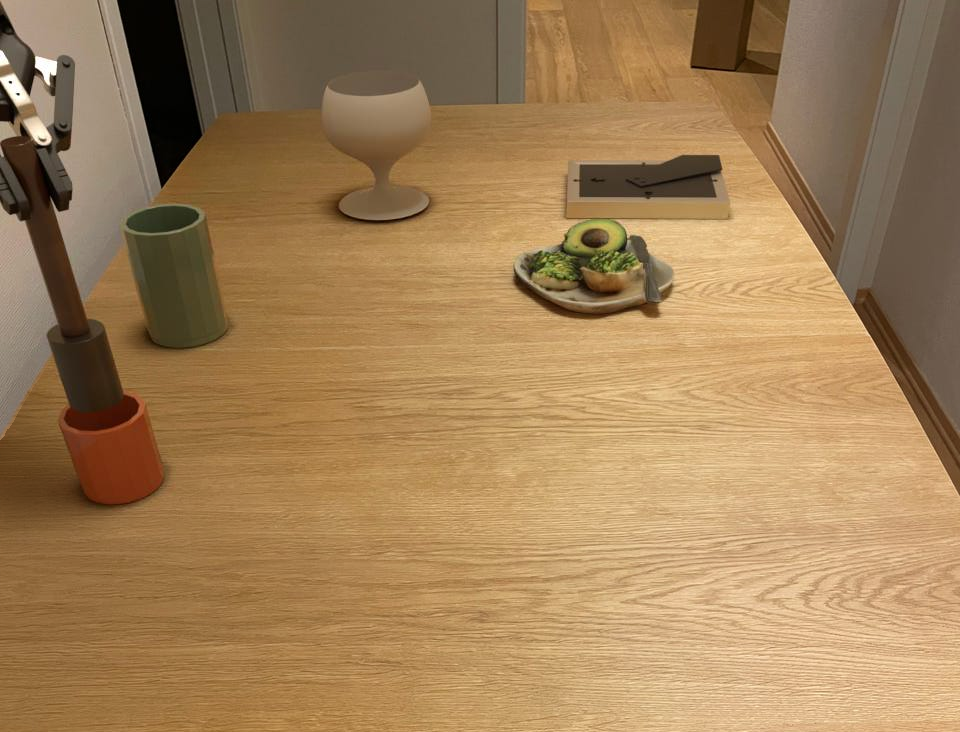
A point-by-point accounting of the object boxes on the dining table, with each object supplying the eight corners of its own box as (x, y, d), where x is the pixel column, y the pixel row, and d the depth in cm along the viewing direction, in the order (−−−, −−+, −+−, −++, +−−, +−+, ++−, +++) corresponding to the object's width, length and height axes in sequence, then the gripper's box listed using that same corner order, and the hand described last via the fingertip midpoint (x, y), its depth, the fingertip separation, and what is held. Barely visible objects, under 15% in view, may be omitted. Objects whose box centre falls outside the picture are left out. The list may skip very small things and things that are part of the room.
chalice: (367, 234, 129) (354, 106, 118) (313, 203, 137) (297, 81, 127) (456, 208, 134) (451, 84, 124) (399, 180, 143) (390, 61, 133)
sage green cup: (145, 351, 107) (114, 237, 99) (154, 315, 113) (126, 206, 105) (225, 344, 107) (201, 231, 99) (230, 310, 114) (207, 201, 105)
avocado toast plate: (717, 301, 112) (723, 260, 109) (578, 337, 107) (580, 295, 103) (624, 241, 125) (627, 203, 122) (496, 271, 119) (495, 231, 116)
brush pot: (76, 508, 86) (50, 437, 81) (90, 462, 91) (66, 393, 86) (159, 501, 87) (138, 430, 82) (168, 455, 92) (149, 386, 87)
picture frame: (716, 176, 141) (567, 176, 142) (719, 154, 139) (568, 154, 140) (727, 218, 129) (566, 218, 131) (731, 196, 128) (567, 195, 129)
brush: (64, 414, 82) (-25, 152, 68) (74, 387, 85) (-9, 132, 71) (119, 410, 82) (42, 149, 68) (127, 383, 85) (54, 129, 71)
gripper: (28, 4, 76) (132, 214, 78) (-168, 33, 71) (-52, 260, 72) (28, -73, 70) (143, 159, 71) (-189, -47, 64) (-60, 205, 65)
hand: (44, 209), depth 71 cm, fingers closed on brush, 2 cm apart
